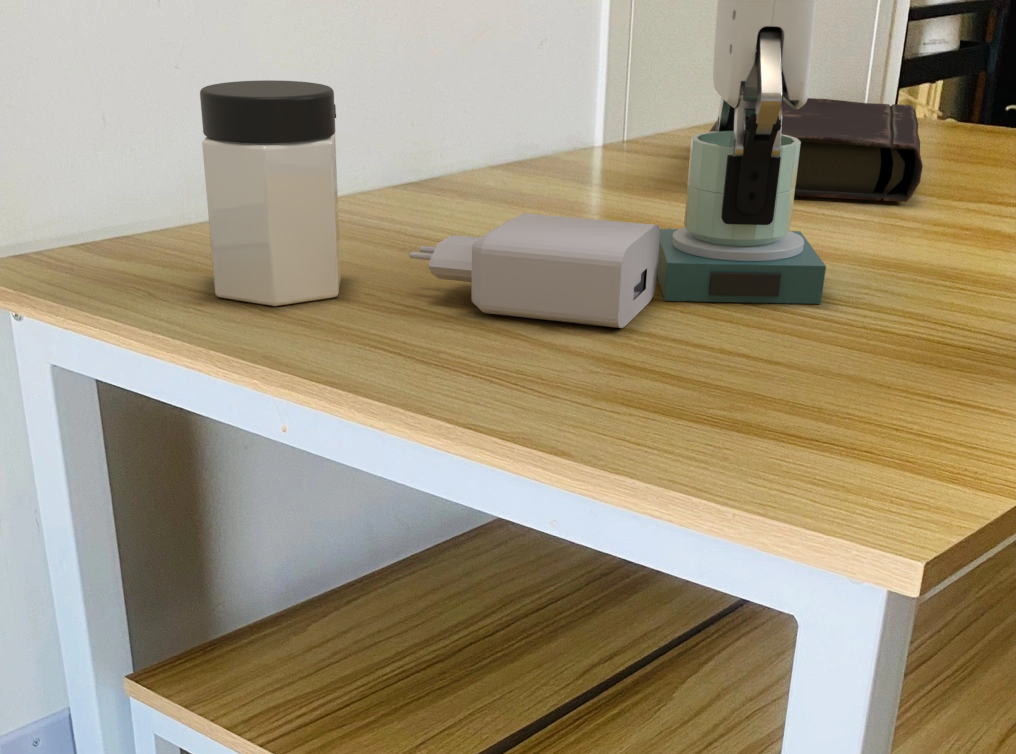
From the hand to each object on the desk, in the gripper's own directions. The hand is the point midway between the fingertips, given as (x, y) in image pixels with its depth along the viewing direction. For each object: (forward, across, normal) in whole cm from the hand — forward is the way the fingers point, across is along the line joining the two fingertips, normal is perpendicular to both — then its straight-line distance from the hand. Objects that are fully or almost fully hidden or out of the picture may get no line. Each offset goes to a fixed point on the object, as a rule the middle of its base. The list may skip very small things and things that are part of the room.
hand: (739, 208), depth 90 cm
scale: (+5, 0, 0) cm, 5 cm away
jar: (+5, -4, +30) cm, 31 cm away
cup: (+2, 0, 0) cm, 2 cm away
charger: (+5, -6, +14) cm, 16 cm away
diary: (+5, +41, -12) cm, 43 cm away
